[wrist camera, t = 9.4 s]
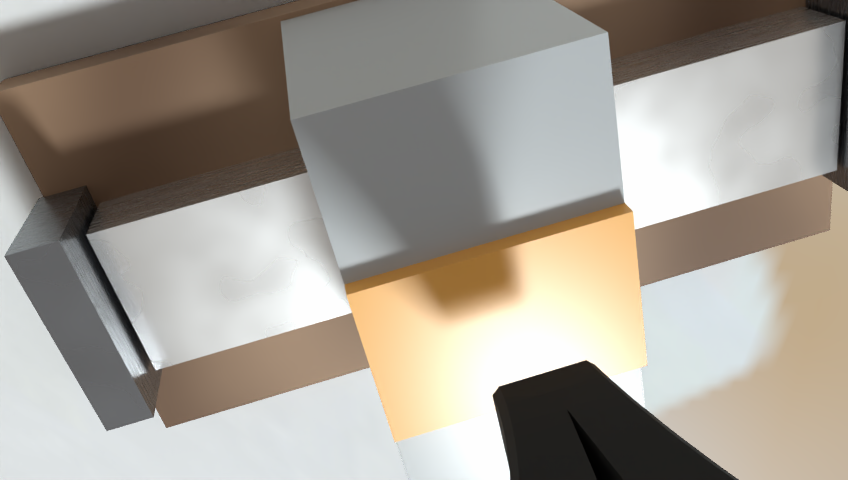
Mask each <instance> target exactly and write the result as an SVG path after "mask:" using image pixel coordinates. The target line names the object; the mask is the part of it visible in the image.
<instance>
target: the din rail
mask: <svg viewBox="0 0 848 480" xmlns="http://www.w3.org/2000/svg"><path fill="white" fill-rule="evenodd" d="M611 68H612V78H613V88H614V98H615V108H616V119H617V129H618V139H619V149H620V159H621V169H622V180H623V190H624V200H625V204H626V205H627V206H628V207H629V208H630V209H631V210H632V211H633V215H634V226H635V229H639V228H642V227H645V226H649V225H652V224H656V223H659V222H662V221H666V220H669V219H673V218H676V217H679V216H683V215H686V214H690V213H693V212H697V211H700V210H703V209H707V208H710V207H714V206H717V205H720V204H724V203H727V202H731V201H734V200H737V199H741V198H744V197H748V196H751V195H754V194H758V193H761V192H765V191H768V190H771V189H775V188H778V187H782V186H785V185H788V184H792V183H795V182H799V181H802V180H805V179H809V178H812V177H816V176H819V175H822V176H824V177H826V178H827V179H829V180H831V181H832V182H834V183H835V184H837V185H839V186H840V187H842V188H844V189H845V190H847V191H848V0H806V6H805V7H803V6H800V7H796V8H793V9H789V10H786V11H782V12H778V13H775V14H771V15H768V16H764V17H761V18H757V19H753V20H750V21H746V22H743V23H739V24H736V25H732V26H728V27H725V28H721V29H718V30H714V31H711V32H707V33H703V34H700V35H696V36H693V37H689V38H686V39H682V40H678V41H675V42H671V43H668V44H664V45H661V46H657V47H654V48H650V49H646V50H643V51H639V52H636V53H632V54H629V55H625V56H621V57H618V58H614V59H611ZM5 258H6V260H7V262H8V263H9V265H10V267H11V268H12V270H13V272H14V273H15V275H16V277H17V279H18V280H19V282H20V284H21V285H22V287H23V289H24V291H25V292H26V294H27V296H28V297H29V299H30V301H31V302H32V304H33V306H34V308H35V309H36V311H37V313H38V314H39V316H40V318H41V320H42V321H43V323H44V325H45V326H46V328H47V330H48V331H49V333H50V335H51V337H52V338H53V340H54V342H55V343H56V345H57V347H58V349H59V350H60V352H61V354H62V355H63V357H64V359H65V361H66V362H67V364H68V366H69V367H70V369H71V371H72V372H73V374H74V376H75V378H76V379H77V381H78V383H79V384H80V386H81V388H82V390H83V391H84V393H85V395H86V396H87V398H88V400H89V401H90V403H91V405H92V407H93V408H94V410H95V412H96V413H97V415H98V417H99V419H100V420H101V422H102V424H103V425H104V427H105V429H106V430H107V431H108V430H112V429H115V428H119V427H122V426H125V425H129V424H132V423H135V422H139V421H142V420H145V419H149V418H152V417H154V412H155V407H156V401H157V396H158V390H159V385H160V379H161V374H162V369H163V368H165V367H169V366H172V365H176V364H179V363H182V362H186V361H189V360H193V359H196V358H199V357H203V356H206V355H210V354H213V353H216V352H220V351H223V350H227V349H230V348H233V347H237V346H240V345H244V344H247V343H250V342H254V341H257V340H261V339H264V338H267V337H271V336H274V335H278V334H281V333H284V332H288V331H291V330H295V329H298V328H302V327H305V326H308V325H312V324H315V323H319V322H322V321H325V320H329V319H332V318H336V317H339V316H342V315H346V314H349V313H352V311H351V308H350V305H349V302H348V299H347V296H346V291H345V285H344V282H343V279H342V276H341V273H340V270H339V267H338V264H337V261H336V257H335V254H334V251H333V248H332V245H331V242H330V239H329V236H328V233H327V230H326V227H325V224H324V221H323V218H322V215H321V212H320V209H319V206H318V203H317V200H316V196H315V193H314V190H313V187H312V184H311V181H310V178H309V175H308V172H307V169H306V166H305V163H304V160H303V157H302V154H301V151H300V148H299V147H297V148H293V149H290V150H286V151H282V152H279V153H275V154H272V155H268V156H265V157H261V158H257V159H254V160H250V161H247V162H243V163H240V164H236V165H232V166H229V167H225V168H222V169H218V170H215V171H211V172H207V173H204V174H200V175H197V176H193V177H190V178H186V179H182V180H179V181H175V182H172V183H168V184H165V185H161V186H157V187H154V188H150V189H147V190H143V191H140V192H136V193H132V194H129V195H125V196H122V197H118V198H115V199H111V200H108V201H104V202H100V204H99V206H98V208H97V206H96V204H95V202H94V200H93V198H92V196H91V194H90V192H89V190H88V188H87V186H82V187H78V188H75V189H71V190H68V191H64V192H60V193H57V194H53V195H50V196H46V197H43V198H39V199H38V201H37V203H36V204H35V206H34V208H33V209H32V211H31V213H30V214H29V216H28V218H27V219H26V221H25V223H24V224H23V226H22V228H21V229H20V231H19V233H18V234H17V236H16V238H15V239H14V241H13V243H12V244H11V246H10V248H9V249H8V251H7V253H6V254H5Z"/></svg>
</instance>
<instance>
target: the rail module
mask: <svg viewBox="0 0 848 480" xmlns="http://www.w3.org/2000/svg"><path fill="white" fill-rule="evenodd" d="M281 31H282V41H283V51H284V61H285V71H286V81H287V90H288V100H289V110H290V120H291V123H292V126H293V129H294V132H295V136H296V139H297V142H298V145H299V148H300V151H301V154H302V157H303V160H304V163H305V166H306V169H307V172H308V175H309V178H310V181H311V184H312V187H313V190H314V193H315V196H316V200H317V203H318V206H319V209H320V212H321V215H322V218H323V221H324V224H325V227H326V230H327V233H328V236H329V239H330V242H331V245H332V248H333V251H334V254H335V257H336V261H337V264H338V267H339V270H340V273H341V276H342V279H343V282H344V285H345V291H346V296H347V299H348V302H349V305H350V308H351V311H352V314H353V317H354V320H355V323H356V326H357V329H358V332H359V335H360V338H361V341H362V344H363V347H364V350H365V353H366V356H367V360H368V363H369V366H370V369H371V372H372V375H373V378H374V381H375V384H376V387H377V390H378V393H379V396H380V399H381V402H382V405H383V408H384V411H385V414H386V417H387V420H388V423H389V426H390V429H391V432H392V435H393V438H394V442H396V443H397V446H398V450H399V453H400V456H401V459H402V462H403V465H404V468H405V471H406V474H407V477H408V480H510V470H509V466H508V461H507V457H506V453H505V448H504V444H503V440H502V435H501V431H500V427H499V422H498V418H497V414H496V409H495V405H494V401H493V396H492V395H493V394H494V392H495V391H496V390H497V388H498V387H499V386H502V385H505V384H508V383H512V382H515V381H518V380H522V379H525V378H528V377H532V376H535V375H538V374H542V373H545V372H548V371H552V370H555V369H558V368H561V367H565V366H568V365H571V364H575V363H578V362H581V361H585V360H587V361H589V362H591V363H593V364H595V365H596V366H597V367H598V368H599V369H600V370H601V371H602V372H603V373H605V374H606V375H607V376H608V377H609V378H610V379H611V380H612V381H613V382H615V383H616V384H617V385H618V386H619V387H620V388H621V389H623V390H624V391H625V392H626V393H627V394H628V395H630V396H631V397H632V398H633V399H634V400H635V401H637V402H638V403H639V404H640V405H641V406H643V407H644V408H645V403H644V393H643V383H642V373H641V367H644V366H647V356H646V345H645V334H644V323H643V312H642V302H641V291H640V280H639V269H638V259H637V248H636V237H635V226H634V215H633V211H632V210H631V209H630V208H629V207H628V206H627V205H626V204H625V200H624V190H623V180H622V169H621V159H620V149H619V139H618V129H617V119H616V108H615V98H614V88H613V78H612V68H611V57H610V47H609V37H608V32H607V31H605V30H604V29H602V28H600V27H598V26H597V25H595V24H593V23H592V22H590V21H588V20H586V19H585V18H583V17H581V16H580V15H578V14H576V13H574V12H573V11H571V10H569V9H567V8H566V7H564V6H562V5H561V4H559V3H557V2H555V1H554V0H358V1H354V2H350V3H346V4H343V5H339V6H335V7H332V8H328V9H324V10H321V11H317V12H313V13H309V14H306V15H302V16H298V17H295V18H291V19H287V20H283V21H281Z"/></svg>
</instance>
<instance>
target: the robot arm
mask: <svg viewBox="0 0 848 480" xmlns="http://www.w3.org/2000/svg"><path fill="white" fill-rule="evenodd" d="M492 396H493V401H494V405H495V409H496V414H497V418H498V422H499V427H500V431H501V435H502V440H503V444H504V448H505V453H506V457H507V461H508V466H509V470H510V480H738V479H737V478H735V477H734V476H733V475H731V474H730V473H728V472H727V471H726V470H724V469H723V468H721V467H720V466H719V465H717V464H716V463H715V462H713V461H711V459H709V458H708V457H707V456H705V455H704V454H703V453H701V452H700V451H699V450H697V449H696V448H695V447H693V446H692V445H690V444H689V443H688V442H687V441H685V440H684V439H683V438H681V437H680V436H679V435H677V434H676V433H675V432H673V431H672V430H671V429H669V428H668V427H667V426H666V425H665V424H663V423H662V422H661V421H660V420H658V419H657V418H656V417H655V416H654V415H652V414H651V413H650V412H649V411H647V410H646V409H645V408H644V407H643V406H641V405H640V404H639V403H638V402H637V401H635V400H634V399H633V398H632V397H631V396H630V395H628V394H627V393H626V392H625V391H624V390H623V389H621V388H620V387H619V386H618V385H617V384H616V383H615V382H613V381H612V380H611V379H610V378H609V377H608V376H607V375H606V374H605V373H603V372H602V371H601V370H600V369H599V368H598V367H597V366H596V365H595V364H593V363H591V362H589V361H587V360H585V361H581V362H578V363H575V364H571V365H568V366H565V367H561V368H558V369H555V370H552V371H548V372H545V373H542V374H538V375H535V376H532V377H528V378H525V379H522V380H518V381H515V382H512V383H508V384H505V385H502V386H499V387H498V388H497V390H496V391H495V392H494V394H493V395H492Z"/></svg>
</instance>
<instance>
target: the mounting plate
mask: <svg viewBox="0 0 848 480" xmlns="http://www.w3.org/2000/svg"><path fill="white" fill-rule="evenodd" d="M354 1H358V0H298V1H294V2H290V3H287V4H283V5H279V6H276V7H272V8H268V9H264V10H261V11H257V12H253V13H250V14H246V15H242V16H238V17H235V18H231V19H227V20H224V21H220V22H216V23H212V24H209V25H205V26H201V27H198V28H194V29H190V30H186V31H183V32H179V33H175V34H172V35H168V36H164V37H161V38H157V39H153V40H149V41H146V42H142V43H138V44H135V45H131V46H127V47H123V48H120V49H116V50H112V51H109V52H105V53H101V54H97V55H94V56H90V57H86V58H83V59H79V60H75V61H71V62H68V63H64V64H60V65H57V66H53V67H49V68H45V69H42V70H38V71H34V72H31V73H27V74H23V75H19V76H16V77H12V78H8V79H5V80H3V81H2V82H1V83H0V116H1V117H2V119H3V121H4V123H5V125H6V127H7V129H8V131H9V132H10V134H11V136H12V138H13V140H14V142H15V144H16V146H17V148H18V149H19V151H20V153H21V155H22V157H23V159H24V161H25V163H26V164H27V166H28V168H29V170H30V172H31V174H32V176H33V178H34V180H35V181H36V183H37V185H38V187H39V189H40V191H41V193H42V195H43V197H46V196H50V195H53V194H57V193H60V192H64V191H68V190H71V189H75V188H78V187H82V186H87V188H88V190H89V192H90V194H91V196H92V198H93V200H94V202H95V204H96V206H97V208H98V206H99V204H100V202H104V201H108V200H111V199H115V198H118V197H122V196H125V195H129V194H132V193H136V192H140V191H143V190H147V189H150V188H154V187H157V186H161V185H165V184H168V183H172V182H175V181H179V180H182V179H186V178H190V177H193V176H197V175H200V174H204V173H207V172H211V171H215V170H218V169H222V168H225V167H229V166H232V165H236V164H240V163H243V162H247V161H250V160H254V159H257V158H261V157H265V156H268V155H272V154H275V153H279V152H282V151H286V150H290V149H293V148H297V147H299V145H298V142H297V139H296V136H295V132H294V129H293V126H292V123H291V120H290V110H289V100H288V90H287V81H286V71H285V61H284V51H283V41H282V31H281V21H283V20H287V19H291V18H295V17H298V16H302V15H306V14H309V13H313V12H317V11H321V10H324V9H328V8H332V7H335V6H339V5H343V4H346V3H350V2H354ZM554 1H555V2H557V3H559V4H561V5H562V6H564V7H566V8H567V9H569V10H571V11H573V12H574V13H576V14H578V15H580V16H581V17H583V18H585V19H586V20H588V21H590V22H592V23H593V24H595V25H597V26H598V27H600V28H602V29H604V30H605V31H607V32H608V37H609V47H610V57H611V59H614V58H618V57H621V56H625V55H629V54H632V53H636V52H639V51H643V50H646V49H650V48H654V47H657V46H661V45H664V44H668V43H671V42H675V41H678V40H682V39H686V38H689V37H693V36H696V35H700V34H703V33H707V32H711V31H714V30H718V29H721V28H725V27H728V26H732V25H736V24H739V23H743V22H746V21H750V20H753V19H757V18H761V17H764V16H768V15H771V14H775V13H778V12H782V11H786V10H789V9H793V8H796V7H800V6H803V7H805V6H806V0H554ZM831 197H832V181H831V180H829V179H827V178H826V177H824V176H822V175H819V176H816V177H812V178H809V179H805V180H802V181H799V182H795V183H792V184H788V185H785V186H782V187H778V188H775V189H771V190H768V191H765V192H761V193H758V194H754V195H751V196H748V197H744V198H741V199H737V200H734V201H731V202H727V203H724V204H720V205H717V206H714V207H710V208H707V209H703V210H700V211H697V212H693V213H690V214H686V215H683V216H679V217H676V218H673V219H669V220H666V221H662V222H659V223H656V224H652V225H649V226H645V227H642V228H639V229H635V237H636V248H637V259H638V269H639V280H640V287H641V286H644V285H647V284H651V283H654V282H657V281H661V280H664V279H668V278H671V277H674V276H678V275H681V274H684V273H688V272H691V271H694V270H698V269H701V268H704V267H708V266H711V265H714V264H718V263H721V262H725V261H728V260H731V259H735V258H738V257H741V256H745V255H748V254H751V253H755V252H758V251H761V250H765V249H768V248H772V247H775V246H778V245H782V244H785V243H788V242H791V241H795V240H798V239H802V238H805V237H808V236H812V235H815V234H818V233H822V232H825V231H828V230H830V216H831V199H832V198H831ZM369 367H370V366H369V363H368V360H367V356H366V353H365V350H364V347H363V344H362V341H361V338H360V335H359V332H358V329H357V326H356V323H355V320H354V317H353V314H352V313H349V314H346V315H342V316H339V317H336V318H332V319H329V320H325V321H322V322H319V323H315V324H312V325H308V326H305V327H302V328H298V329H295V330H291V331H288V332H284V333H281V334H278V335H274V336H271V337H267V338H264V339H261V340H257V341H254V342H250V343H247V344H244V345H240V346H237V347H233V348H230V349H227V350H223V351H220V352H216V353H213V354H210V355H206V356H203V357H199V358H196V359H193V360H189V361H186V362H182V363H179V364H176V365H172V366H169V367H165V368H163V369H162V374H161V379H160V385H159V390H158V396H157V401H156V409H157V411H158V413H159V415H160V417H161V419H162V421H163V423H164V424H165V426H166V428H168V427H171V426H174V425H178V424H181V423H185V422H188V421H191V420H195V419H198V418H201V417H205V416H208V415H211V414H215V413H218V412H221V411H225V410H228V409H231V408H235V407H238V406H242V405H245V404H248V403H252V402H255V401H258V400H262V399H265V398H268V397H272V396H275V395H278V394H282V393H285V392H288V391H292V390H295V389H299V388H302V387H305V386H309V385H312V384H315V383H319V382H322V381H325V380H329V379H332V378H335V377H339V376H342V375H346V374H349V373H352V372H356V371H359V370H362V369H366V368H369Z"/></svg>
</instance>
